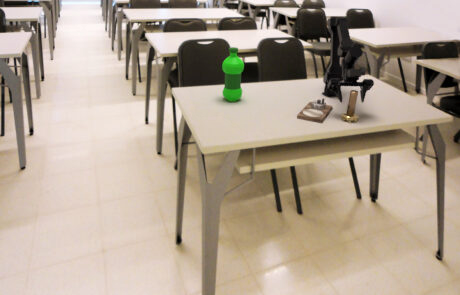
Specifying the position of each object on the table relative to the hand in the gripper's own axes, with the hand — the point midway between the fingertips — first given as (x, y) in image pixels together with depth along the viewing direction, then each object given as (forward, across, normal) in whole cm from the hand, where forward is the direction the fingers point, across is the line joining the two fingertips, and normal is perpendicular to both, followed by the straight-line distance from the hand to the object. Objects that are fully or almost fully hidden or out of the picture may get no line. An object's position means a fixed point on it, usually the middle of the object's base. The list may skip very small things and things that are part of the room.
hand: (352, 102), depth 160 cm
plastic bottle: (-11, -51, +22) cm, 57 cm away
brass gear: (+6, 0, +6) cm, 8 cm away
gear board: (+1, -14, +10) cm, 17 cm away
